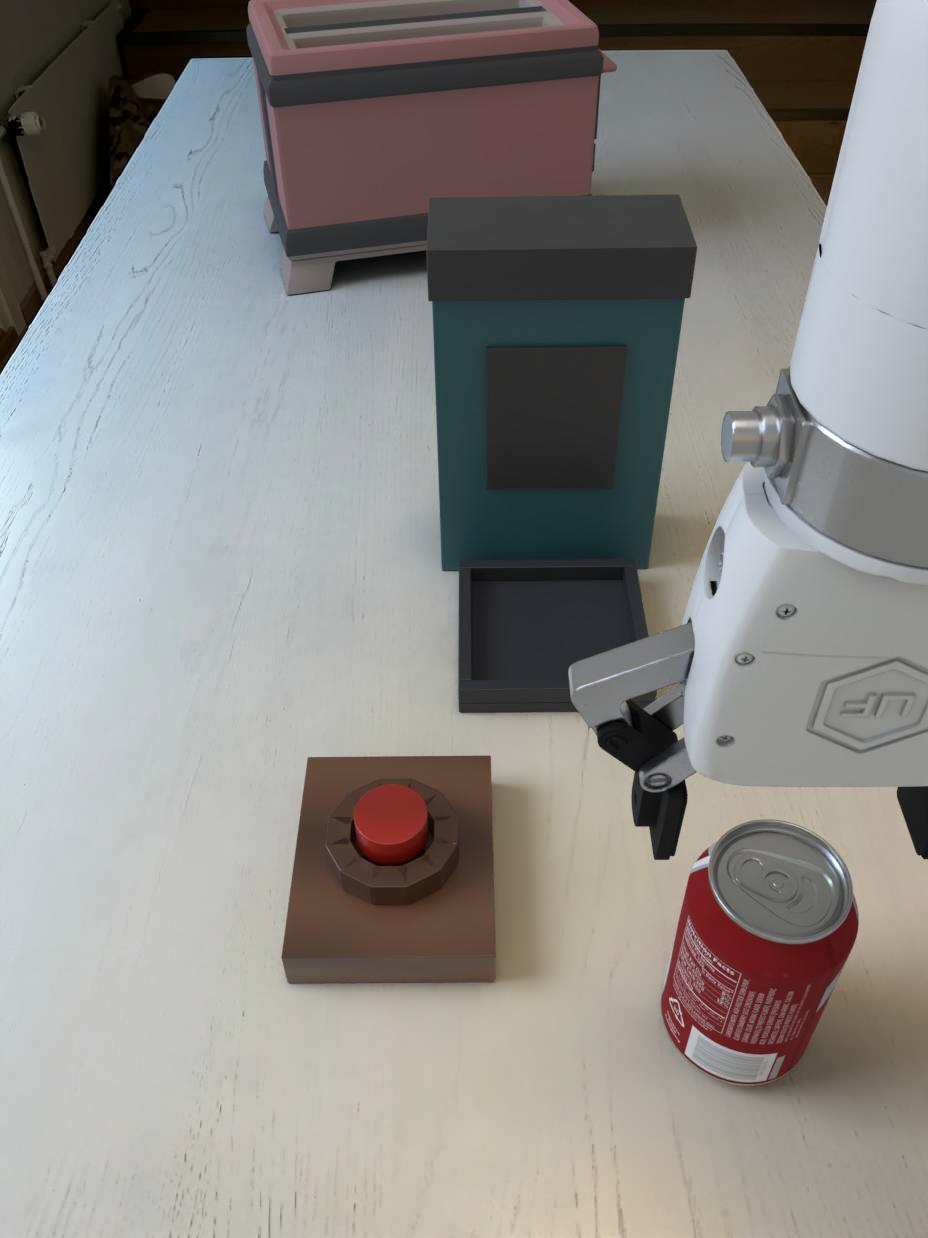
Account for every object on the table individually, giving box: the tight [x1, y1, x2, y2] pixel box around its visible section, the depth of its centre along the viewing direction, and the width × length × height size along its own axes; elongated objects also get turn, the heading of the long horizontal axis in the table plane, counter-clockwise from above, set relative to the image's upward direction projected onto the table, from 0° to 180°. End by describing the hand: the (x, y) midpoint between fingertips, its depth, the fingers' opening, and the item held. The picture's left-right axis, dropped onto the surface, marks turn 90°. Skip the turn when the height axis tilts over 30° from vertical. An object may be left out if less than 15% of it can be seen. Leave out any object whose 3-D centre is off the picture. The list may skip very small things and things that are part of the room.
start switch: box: [280, 755, 496, 984], centre depth 55 cm, size 12×10×4 cm
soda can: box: [660, 818, 860, 1087], centre depth 47 cm, size 7×7×12 cm
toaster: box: [245, 0, 618, 296], centre depth 105 cm, size 19×34×21 cm, turn 104°
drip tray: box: [457, 559, 658, 713], centre depth 68 cm, size 12×12×2 cm
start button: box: [354, 784, 429, 865], centre depth 54 cm, size 4×4×2 cm
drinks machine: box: [425, 194, 698, 571], centre depth 68 cm, size 7×14×23 cm, turn 90°
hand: (786, 827), depth 41 cm, fingers open, 9 cm apart
